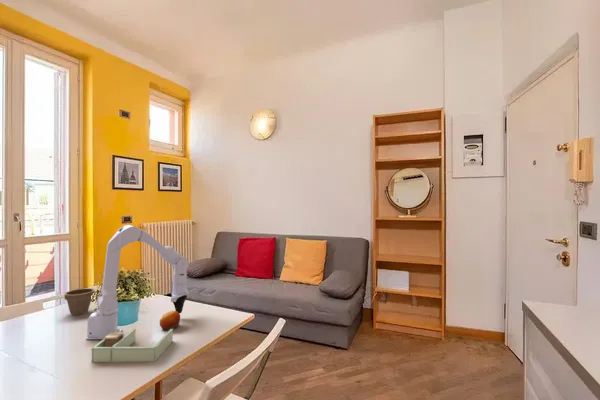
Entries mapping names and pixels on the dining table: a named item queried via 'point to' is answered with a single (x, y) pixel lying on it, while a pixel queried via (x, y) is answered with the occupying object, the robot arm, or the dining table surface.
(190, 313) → the dining table surface
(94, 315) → the robot arm
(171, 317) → the fruit
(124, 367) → the dining table surface
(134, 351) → the divider frame
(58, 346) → the dining table surface
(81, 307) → the flower pot
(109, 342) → the walnut box
